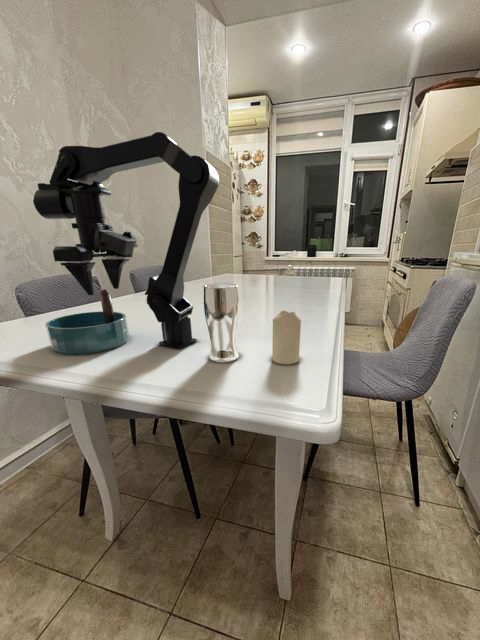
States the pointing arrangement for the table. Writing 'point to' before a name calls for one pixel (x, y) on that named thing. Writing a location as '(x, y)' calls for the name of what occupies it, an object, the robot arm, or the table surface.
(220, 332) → the beer glass
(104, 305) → the brown rod
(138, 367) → the table surface
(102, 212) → the robot arm
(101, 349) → the bowl
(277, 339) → the candle
